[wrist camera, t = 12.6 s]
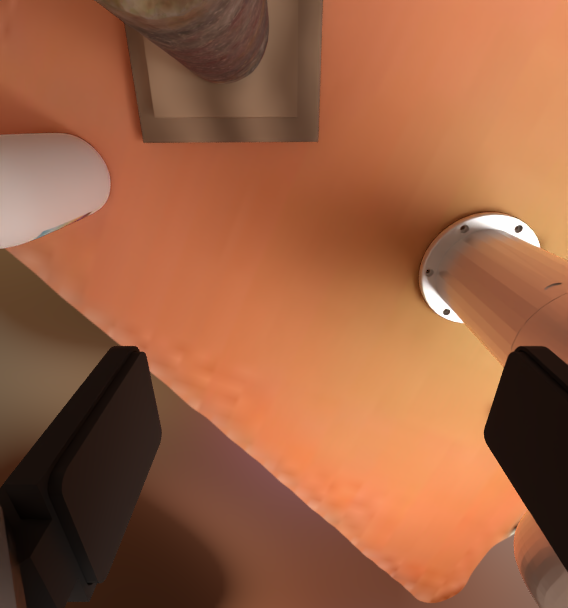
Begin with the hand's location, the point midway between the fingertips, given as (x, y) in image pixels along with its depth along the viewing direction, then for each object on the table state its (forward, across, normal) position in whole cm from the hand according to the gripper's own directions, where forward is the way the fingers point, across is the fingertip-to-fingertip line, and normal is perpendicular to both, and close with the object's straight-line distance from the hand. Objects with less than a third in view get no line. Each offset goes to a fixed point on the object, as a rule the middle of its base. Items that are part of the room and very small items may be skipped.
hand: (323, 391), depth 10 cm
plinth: (+30, +6, -13) cm, 33 cm away
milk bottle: (+31, +22, -2) cm, 38 cm away
